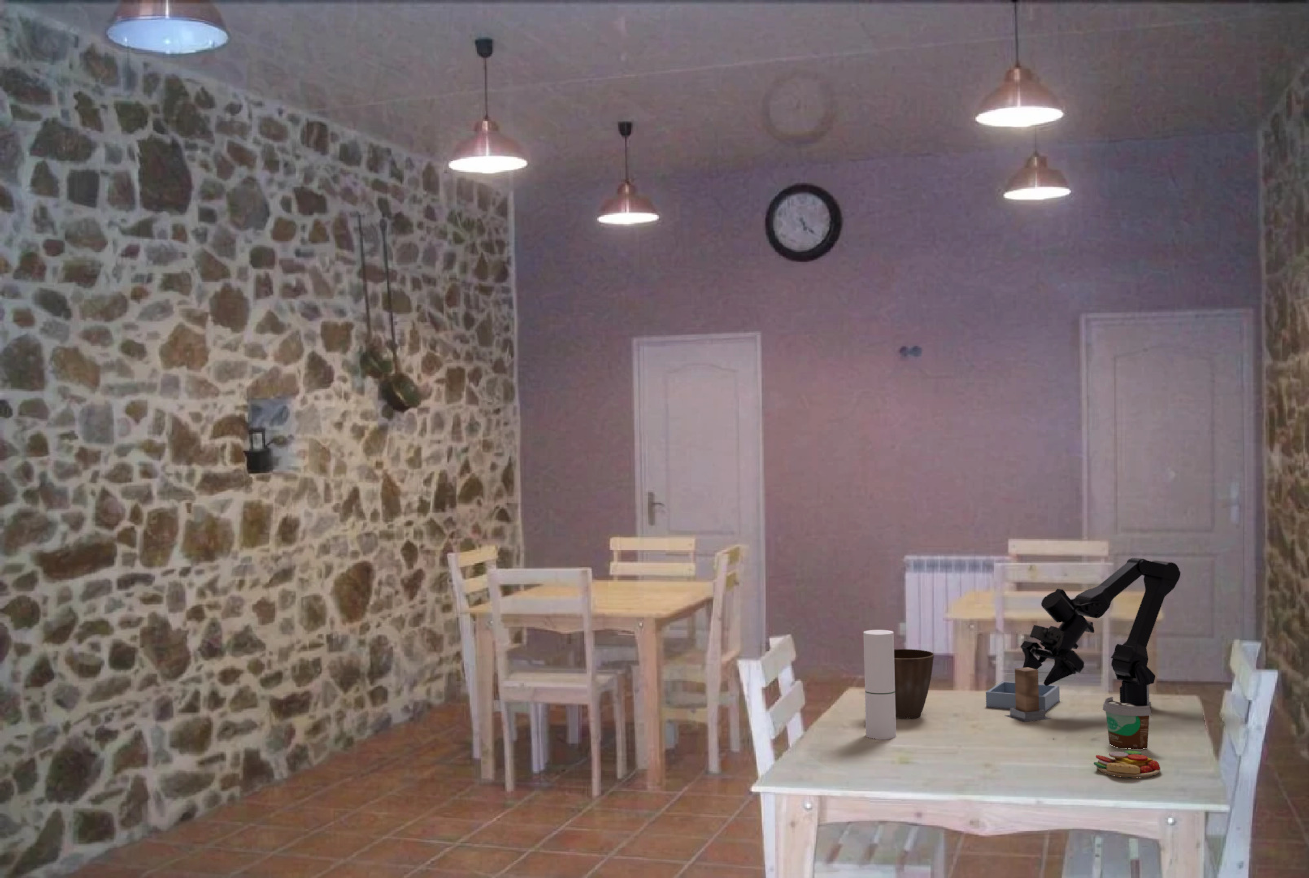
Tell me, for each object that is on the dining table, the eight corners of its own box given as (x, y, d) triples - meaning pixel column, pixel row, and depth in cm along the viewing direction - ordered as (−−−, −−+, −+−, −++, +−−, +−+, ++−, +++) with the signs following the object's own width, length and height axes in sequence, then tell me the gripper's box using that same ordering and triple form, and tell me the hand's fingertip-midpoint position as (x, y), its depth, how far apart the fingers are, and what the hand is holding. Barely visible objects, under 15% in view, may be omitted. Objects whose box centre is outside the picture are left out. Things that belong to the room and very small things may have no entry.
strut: (1029, 714, 327) (1028, 667, 327) (1039, 717, 323) (1038, 669, 323) (1015, 716, 325) (1014, 668, 325) (1025, 719, 322) (1024, 671, 321)
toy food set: (1119, 783, 267) (1118, 767, 267) (1080, 767, 279) (1080, 752, 279) (1173, 776, 270) (1173, 761, 270) (1133, 761, 283) (1133, 746, 283)
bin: (1059, 702, 342) (1059, 685, 342) (1045, 714, 329) (1045, 696, 329) (1002, 697, 350) (1002, 681, 350) (986, 709, 337) (985, 691, 337)
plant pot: (866, 712, 337) (865, 650, 337) (918, 707, 341) (917, 646, 341) (892, 724, 323) (890, 660, 323) (946, 719, 327) (944, 656, 327)
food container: (1091, 742, 300) (1090, 699, 300) (1111, 739, 302) (1110, 696, 302) (1131, 753, 289) (1130, 709, 289) (1152, 750, 291) (1151, 706, 291)
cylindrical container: (894, 732, 315) (892, 629, 314) (897, 739, 307) (894, 634, 307) (865, 732, 315) (862, 629, 315) (867, 739, 308) (864, 634, 308)
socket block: (1030, 714, 329) (1030, 704, 329) (1051, 720, 322) (1050, 710, 322) (1004, 717, 327) (1004, 707, 327) (1024, 724, 319) (1024, 713, 319)
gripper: (1025, 609, 335) (991, 655, 331) (1073, 618, 318) (1037, 666, 314) (1051, 637, 338) (1017, 683, 334) (1100, 647, 321) (1064, 696, 317)
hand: (1033, 681), depth 325 cm, fingers open, 9 cm apart
